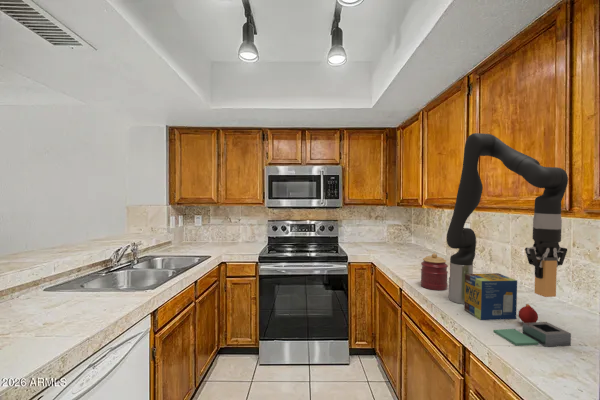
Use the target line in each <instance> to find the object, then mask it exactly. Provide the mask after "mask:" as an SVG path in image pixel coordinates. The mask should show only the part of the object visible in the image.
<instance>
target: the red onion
mask: <svg viewBox="0 0 600 400" xmlns="http://www.w3.org/2000/svg"><path fill="white" fill-rule="evenodd" d="M517 313H518V318H519V319H520V320H521V321H522V322H523V323H532V322H538V320H539V315H538V313H537V311H536V310H535V309H534V307H532V306H531V305H530V304H528V303H526V304H525V306H522V307H521V308H519V311H518V312H517Z"/></svg>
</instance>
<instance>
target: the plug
mask: <svg viewBox="0 0 600 400" xmlns="http://www.w3.org/2000/svg"><path fill="white" fill-rule="evenodd" d="M538 257H539V258H542V257H540V256H538ZM539 262H540V260H539V261H538V263H539ZM542 268H543V278H542V279H539V278H536V276H535V275H534V294H536V295H539V296H541V297H545V298H554V297H555V298H556V297H557V274H558V271H557V268H558V267H557V257H547V258H545V261H544V264H543V267H542Z"/></svg>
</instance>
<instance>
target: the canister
mask: <svg viewBox="0 0 600 400" xmlns="http://www.w3.org/2000/svg"><path fill="white" fill-rule="evenodd" d="M420 265H421V268H420V279H421V280H420V286H421V287H422V288H424V289H427V290H433V291H444V290H447V289H448V287H449V282H448V273H449V272H448V270H447V268H448V267H449V265H448V264H447V260H446V259H444V258H443V257H441V256H438V255H437V253H435V252H433V253H432V254H431V255H428V256H425V257H424V258H422V262H420Z"/></svg>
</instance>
